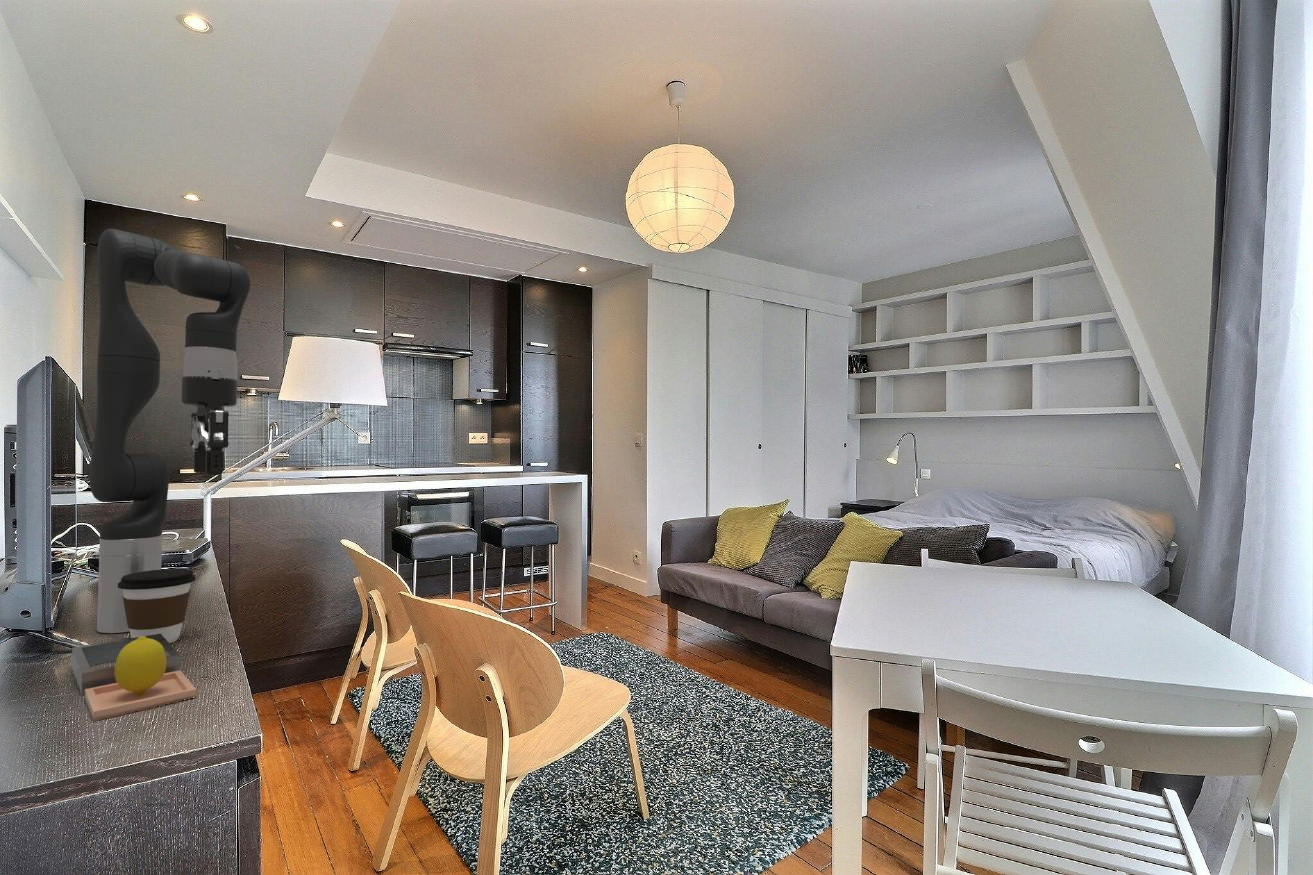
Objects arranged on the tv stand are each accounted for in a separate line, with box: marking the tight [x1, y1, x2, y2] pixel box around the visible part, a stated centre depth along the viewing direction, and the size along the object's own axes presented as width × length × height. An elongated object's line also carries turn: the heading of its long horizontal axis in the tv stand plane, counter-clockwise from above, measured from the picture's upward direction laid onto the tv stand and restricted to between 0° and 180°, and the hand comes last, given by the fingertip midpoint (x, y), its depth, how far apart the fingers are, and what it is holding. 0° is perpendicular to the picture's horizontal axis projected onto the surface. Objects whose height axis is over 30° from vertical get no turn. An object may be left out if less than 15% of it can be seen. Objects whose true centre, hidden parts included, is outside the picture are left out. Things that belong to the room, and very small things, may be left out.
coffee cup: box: [118, 568, 197, 644], centre depth 112 cm, size 11×11×12 cm
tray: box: [84, 670, 197, 722], centre depth 86 cm, size 11×11×1 cm
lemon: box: [114, 636, 167, 695], centre depth 87 cm, size 6×6×8 cm
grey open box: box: [71, 633, 181, 696], centre depth 97 cm, size 16×11×3 cm
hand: (207, 474), depth 105 cm, fingers open, 8 cm apart
